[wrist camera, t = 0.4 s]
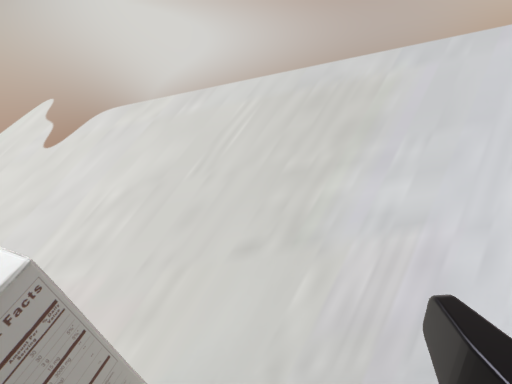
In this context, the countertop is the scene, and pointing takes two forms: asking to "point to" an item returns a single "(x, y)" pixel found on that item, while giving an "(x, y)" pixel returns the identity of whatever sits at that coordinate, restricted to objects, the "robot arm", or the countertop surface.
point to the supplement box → (50, 333)
